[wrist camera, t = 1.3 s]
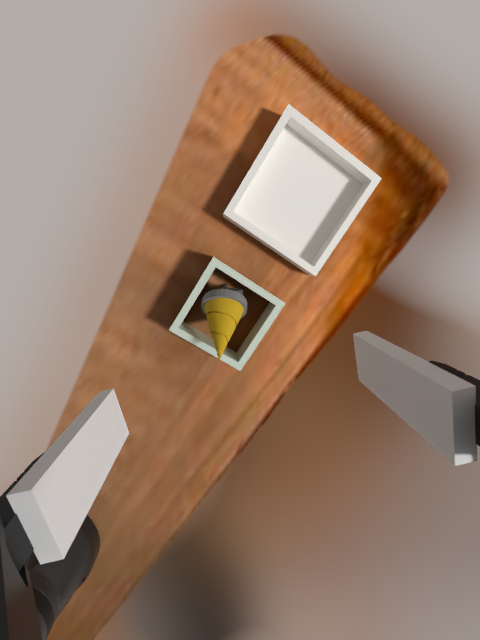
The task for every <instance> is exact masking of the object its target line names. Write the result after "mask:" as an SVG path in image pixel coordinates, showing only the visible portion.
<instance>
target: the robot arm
mask: <svg viewBox="0 0 480 640" xmlns="http://www.w3.org/2000/svg"><path fill="white" fill-rule="evenodd" d="M353 338H354V345H355V354H356V361H357V369H358V377H359V381H361V382H362V383H363V384H364V385H365V386H366V387H367V388H368V389H369V390H371V391H372V392H373V393H374V394H375V395H376V396H377V397H378V398H380V399H381V400H382V401H383V402H384V403H385V404H386V405H387V406H389V407H390V408H391V409H392V410H393V411H394V412H395V413H396V414H397V415H399V416H400V417H401V418H402V419H403V420H404V421H405V422H407V423H408V424H409V425H410V426H411V427H412V428H413V429H414V430H415V431H417V432H418V433H419V434H420V435H421V436H422V437H423V438H425V439H426V440H427V441H428V442H429V443H430V444H431V445H432V446H433V447H434V448H436V449H437V450H438V451H439V452H440V453H441V454H442V455H443V456H444V457H446V458H447V459H448V460H449V461H450V462H451V463H452V464H453V465H455V466H457V465H461V464H465V463H469V462H473V461H477V445H479V446H480V380H478V379H476V378H474V377H472V376H469V375H466V374H465V373H463V372H461V371H459V370H458V371H457V369H455V368H453V367H450V366H448V365H446V364H443V363H439V362H435V361H428V362H427V361H425V360H423V359H422V358H420V357H418V356H416V355H414V354H412V353H410V352H408V351H406V350H404V349H402V348H400V347H398V346H396V345H394V344H392V343H390V342H388V341H386V340H384V339H382V338H380V337H378V336H376V335H374V334H372V333H370V332H368V331H363V332H359V333H355V334H353ZM128 434H129V431H128V428H127V426H126V423H125V420H124V417H123V414H122V411H121V408H120V406H119V403H118V400H117V397H116V394H115V391H114V389H109V390H105V391H101V392H99V393H98V394H97V395H96V396H95V397H94V398H93V399H92V401H91V402H90V403H89V404H88V405H87V406H86V407H85V408H84V409H83V411H82V412H81V413H80V414H79V415H78V416H77V417H76V418H75V419H74V421H73V422H72V423H71V424H70V425H69V426H68V427H67V428H66V429H65V431H64V432H63V433H62V434H61V435H60V436H59V437H58V438H57V439H56V441H55V442H54V443H53V444H52V445H51V446H50V447H49V448H48V449H47V451H46V452H44V453H43V454H42V455H40V456H39V457H38V458H36V459H35V460H34V461H33V462H32V463H31V464H30V465H29V466H28V467H27V468H26V470H25V472H23V473H22V474H21V475H20V476H19V477H18V478H17V481H15V482H14V483H13V484H12V485H11V486H10V487H9V488H8V489H7V490H6V491H5V492H4V493H3V495H2V496H1V497H0V640H46V639H47V636H48V634H49V632H50V630H51V628H52V625H53V623H54V621H55V620H56V618H57V617H58V615H59V614H60V613H61V611H62V610H63V609H64V607H65V606H66V604H67V603H68V602H69V600H70V599H71V597H72V595H73V594H74V592H75V591H76V590H77V589H78V588H79V587H80V586H81V585H82V584H83V582H84V581H85V580H86V578H87V577H88V575H89V573H90V572H91V570H92V567H93V565H94V562H95V560H96V557H97V555H98V552H99V547H100V539H99V534H98V531H97V529H96V527H95V525H94V523H93V522H92V521H91V519H90V518H89V517H88V516H87V513H88V511H89V510H90V508H91V506H92V504H93V502H94V500H95V498H96V496H97V494H98V492H99V490H100V488H101V486H102V485H103V483H104V481H105V479H106V477H107V475H108V473H109V471H110V469H111V467H112V465H113V463H114V461H115V459H116V458H117V456H118V454H119V452H120V450H121V448H122V446H123V444H124V442H125V440H126V438H127V436H128Z"/></svg>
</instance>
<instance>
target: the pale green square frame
mask: <svg viewBox="0 0 480 640" xmlns="http://www.w3.org/2000/svg"><path fill="white" fill-rule="evenodd" d="M215 268H218V269H220V270H221V271H223V272H224V273H226V274H227V275H229V276H231V277H232V278H234V279H235V280H237V281H238V282H240V283H241V284H243V285H245V286H246V287H248V288H249V289H251V290H252V291H254V292H256V293H257V294H259V295H260V296H262V297H263V298H265V299H267V300H268V301H270V302H269V304H268V305H267V307H266V308H265V310H264V311H263V313H262V314H261V316H260V318H259V319H258V321H257V322H256V324H255V325H254V327H253V328H252V330H251V331H250V333H249V334H248V336H247V337H246V339H245V340H244V342H243V343H242V345H241V346H240V348H239V349H238V351H237V353H236V352H235V351H233V350H231V349H229V348H228V347H226V348H225V350H224V352H223V354H222V356H221V358H220V360H222V361H224V362H225V363H227V364H229V365H231V366H232V367H234V368H236V369H238V370H239V371H241V369H242V368H243V366H244V365H245V363H246V362H247V360H248V359H249V357H250V356H251V354H252V353H253V351H254V350H255V348H256V347H257V345H258V344H259V342H260V341H261V339H262V338H263V336H264V335H265V333H266V332H267V330H268V329H269V327H270V326H271V324H272V323H273V321H274V320H275V318H276V317H277V315H278V314H279V312H280V311H281V309H282V308H283V306H284V305H285V303H284V302H283V301H282V300H280V299H279V298H277V297H275V296H274V295H272V294H271V293H269V292H268V291H266V290H265V289H263V288H261V287H260V286H258V285H257V284H255V283H254V282H252V281H251V280H249V279H247V278H246V277H244V276H243V275H241V274H240V273H238V272H237V271H235V270H234V269H232V268H230V267H229V266H227V265H226V264H224V263H223V262H221V261H220V260H218V259H216V258H215V257H213V258H212V260H211V261H210V263H209V265H208V266H207V268H206V270H205V271H204V273H203V275H202V276H201V278H200V280H199V281H198V283H197V285H196V286H195V288H194V290H193V291H192V293H191V294H190V296H189V298H188V299H187V301H186V303H185V304H184V306H183V308H182V309H181V311H180V313H179V314H178V316H177V318H176V319H175V321H174V323H173V324H172V326H171V327H170V329H169V331H171V332H173V333H175V334H176V335H178V336H180V337H182V338H183V339H185V340H187V341H189V342H190V343H192V344H194V345H196V346H197V347H199V348H201V349H203V350H204V351H206V352H208V353H210V354H211V355H213V356H215V357H217V358H218V356H217V351H216V349H215V345H214V342H213V339H212V338H211V337H209V336H207V335H205V334H204V333H202V332H200V331H199V330H197V329H195V328H193V327H192V326H190V325H188V324H187V323H185V322H183V320H184V318H185V317H186V315H187V313H188V312H189V310H190V309H191V307H192V305H193V304H194V302H195V300H196V299H197V297H198V295H199V294H200V292H201V291H202V289H203V287H204V286H205V284H206V282H207V281H208V279H209V277H210V276H211V274H212V273H213V271H214V269H215Z"/></svg>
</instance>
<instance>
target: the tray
mask: <svg viewBox="0 0 480 640" xmlns="http://www.w3.org/2000/svg"><path fill="white" fill-rule="evenodd" d="M381 179H382V178H381V177H379V176H378V175H377V174H376V173H374V172H373V171H372V170H371V169H369V168H368V167H367V166H366V165H364V164H363V163H362V162H361V161H359V160H358V159H357V158H356V157H354V156H353V155H352V154H351V153H349V152H348V151H347V150H346V149H344V148H343V147H342V146H341V145H339V144H338V143H337V142H336V141H334V140H333V139H332V138H331V137H329V136H328V135H327V134H326V133H324V132H323V131H322V130H321V129H319V128H318V127H317V126H316V125H314V124H313V123H312V122H311V121H309V120H308V119H307V118H306V117H304V116H303V115H302V114H301V113H299V112H298V111H297V110H296V109H294V108H293V107H292V106H291V105H289V104H288V106H287V107H286V109H285V111H284V112H283V114H282V116H281V118H280V119H279V121H278V123H277V124H276V126H275V128H274V129H273V131H272V133H271V134H270V136H269V138H268V139H267V141H266V143H265V144H264V146H263V148H262V149H261V151H260V153H259V154H258V156H257V158H256V159H255V161H254V163H253V164H252V166H251V168H250V169H249V171H248V173H247V175H246V176H245V178H244V180H243V181H242V183H241V185H240V186H239V188H238V190H237V191H236V193H235V195H234V196H233V198H232V200H231V201H230V203H229V205H228V206H227V208H226V210H225V211H224V213H223V217H224V218H225V219H227V220H228V221H230V222H231V223H233V224H234V225H236V226H237V227H239V228H240V229H242V230H243V231H245V232H246V233H247V234H249V235H250V236H252V237H253V238H255V239H256V240H258V241H259V242H261V243H262V244H264V245H265V246H267V247H268V248H270V249H271V250H273V251H274V252H275V253H277V254H278V255H280V256H281V257H283V258H284V259H286V260H287V261H289V262H290V263H292V264H293V265H295V266H296V267H298V268H299V269H301V270H302V271H303V272H305V273H306V274H308V275H311V276H316V275H317V274H318V272H319V271H320V269H321V268H322V266H323V265H324V263H325V262H326V260H327V259H328V257H329V256H330V254H331V253H332V251H333V250H334V248H335V247H336V245H337V244H338V242H339V241H340V239H341V238H342V236H343V235H344V233H345V232H346V231H347V229H348V228H349V226H350V225H351V223H352V222H353V220H354V219H355V217H356V216H357V214H358V213H359V211H360V210H361V208H362V207H363V205H364V204H365V202H366V201H367V199H368V198H369V196H370V195H371V193H372V192H373V190H374V189H375V188H376V186H377V185H378V183H379V182H380V180H381Z"/></svg>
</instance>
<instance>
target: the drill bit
mask: <svg viewBox="0 0 480 640" xmlns="http://www.w3.org/2000/svg"><path fill="white" fill-rule="evenodd" d="M201 310H202V312H203V313H204V314H205V315H206V316H207V320H208V324H209V327H210V331H211V333H212V338H213V342H214V345H215V349H216V351H217V356H218V359H220V358H221V356H222V354H223V352H224V350H225V348H226V346H227V344H228V342H229V340H230V338H231V336H232V334H233V332H234V330H235V328H236V326H237V324H238V322H239V320H240V319H241V318H242V317H244V316H245V315H246V313H247V300H246V298H245V297H244V296H243V290H242V289H234V288H227V284H226V285H224V286H223V287H222V288H221V289H215V290H211V291H209V292H207V293H206V294H205V295H204V296H203V298H202V303H201Z"/></svg>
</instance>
